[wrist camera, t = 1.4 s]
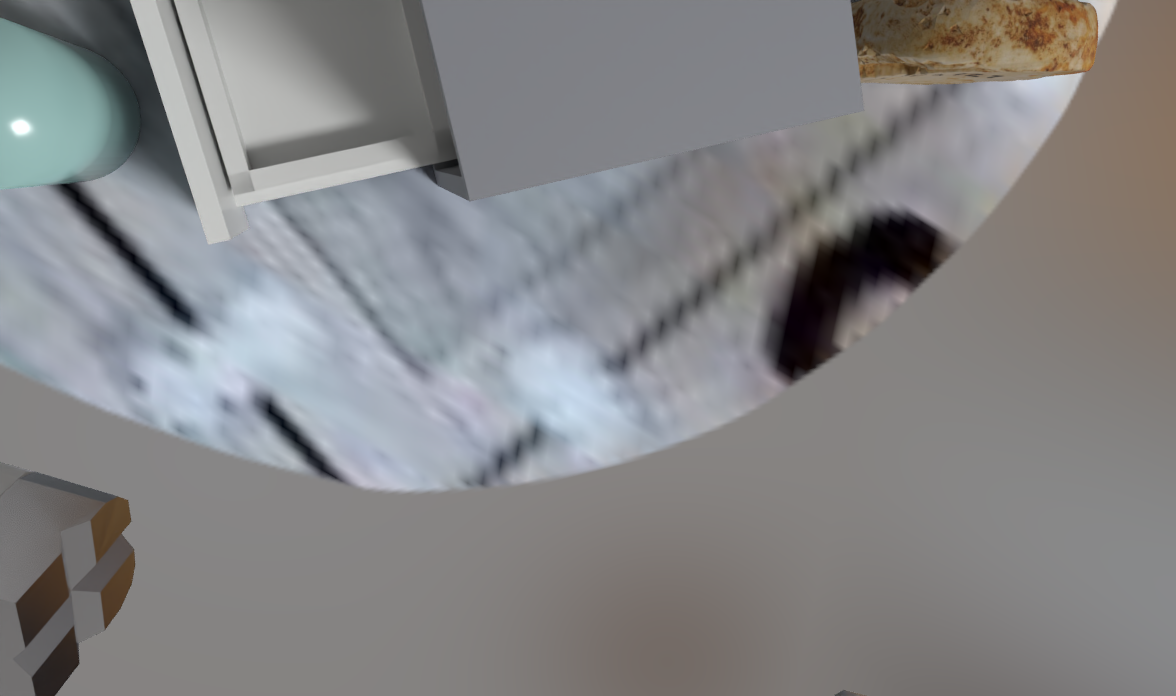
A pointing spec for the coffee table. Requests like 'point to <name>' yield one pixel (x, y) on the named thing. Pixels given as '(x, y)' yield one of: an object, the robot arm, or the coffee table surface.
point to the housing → (627, 81)
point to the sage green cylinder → (60, 111)
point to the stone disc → (972, 40)
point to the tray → (292, 96)
